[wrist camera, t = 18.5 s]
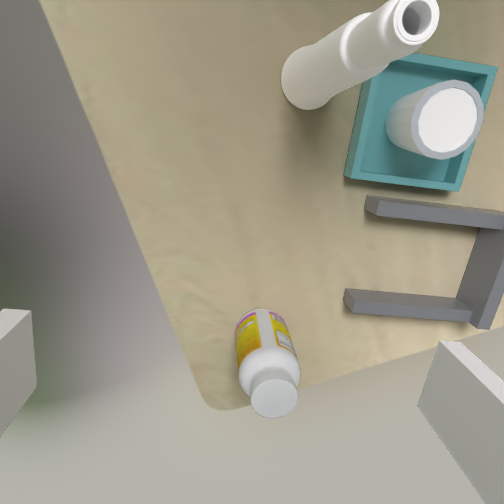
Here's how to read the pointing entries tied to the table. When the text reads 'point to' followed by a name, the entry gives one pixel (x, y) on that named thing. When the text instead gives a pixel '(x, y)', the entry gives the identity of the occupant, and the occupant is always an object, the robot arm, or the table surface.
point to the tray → (375, 113)
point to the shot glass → (436, 120)
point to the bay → (475, 277)
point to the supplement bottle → (267, 363)
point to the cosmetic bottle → (357, 51)
